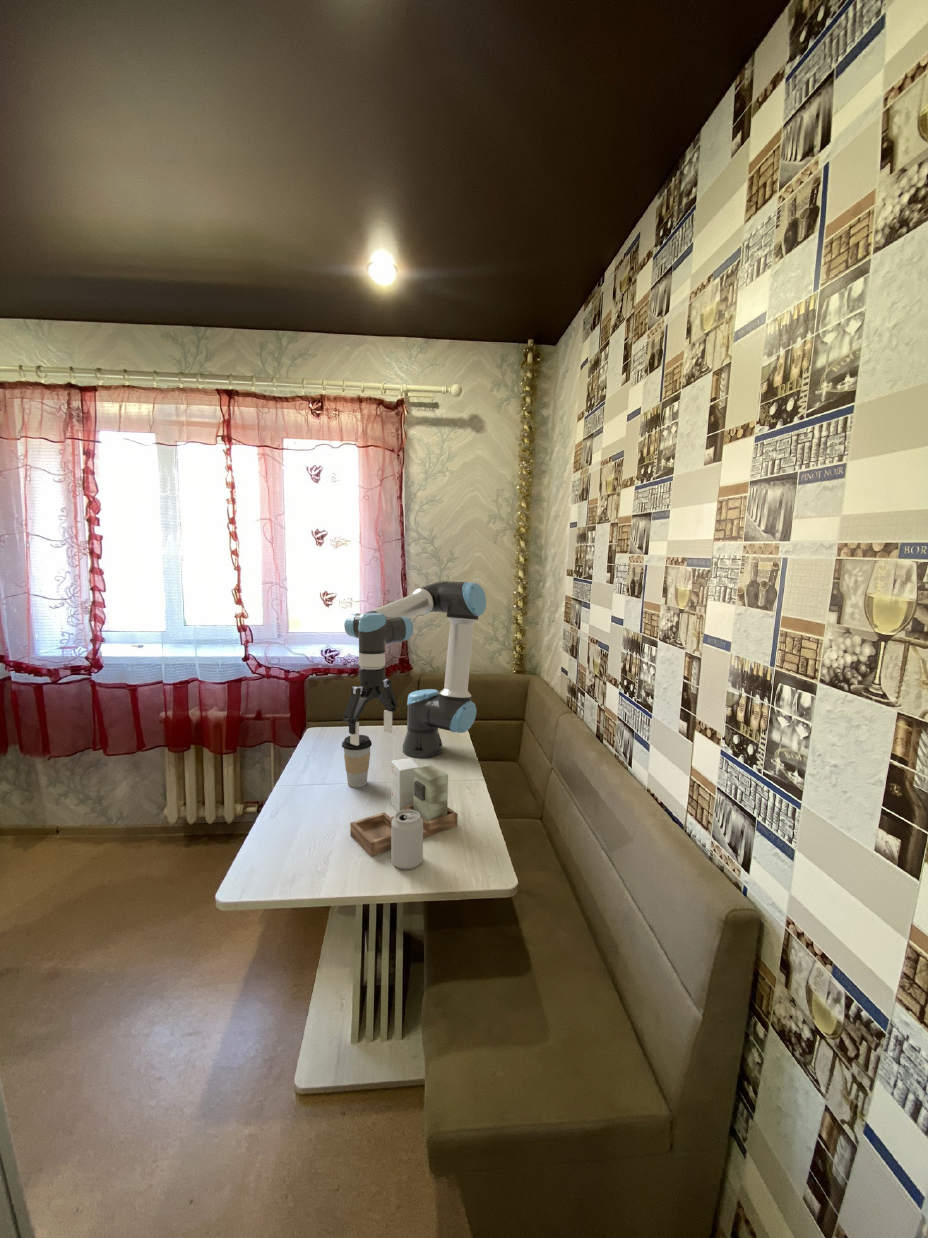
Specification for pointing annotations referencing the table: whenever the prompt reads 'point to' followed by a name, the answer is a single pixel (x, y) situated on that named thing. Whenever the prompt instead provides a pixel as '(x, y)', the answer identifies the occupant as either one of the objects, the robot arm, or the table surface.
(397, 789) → the small box
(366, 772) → the coffee cup
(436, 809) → the brown divided tray
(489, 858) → the table surface
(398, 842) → the can
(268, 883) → the table surface
